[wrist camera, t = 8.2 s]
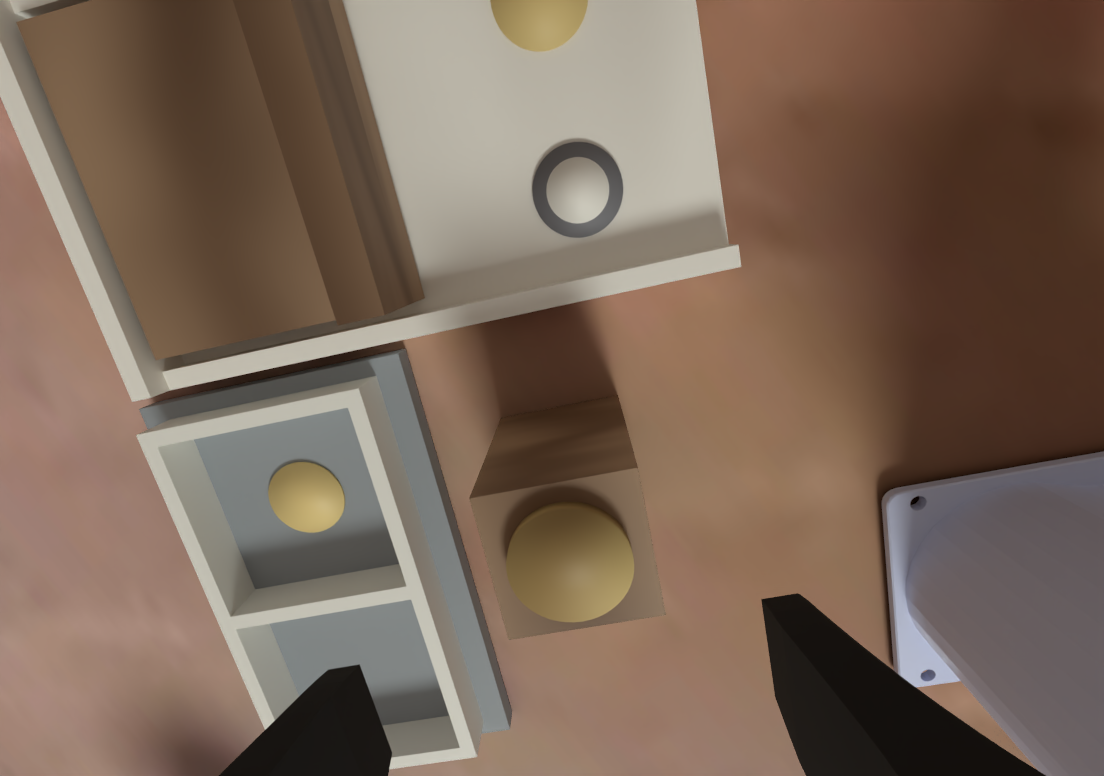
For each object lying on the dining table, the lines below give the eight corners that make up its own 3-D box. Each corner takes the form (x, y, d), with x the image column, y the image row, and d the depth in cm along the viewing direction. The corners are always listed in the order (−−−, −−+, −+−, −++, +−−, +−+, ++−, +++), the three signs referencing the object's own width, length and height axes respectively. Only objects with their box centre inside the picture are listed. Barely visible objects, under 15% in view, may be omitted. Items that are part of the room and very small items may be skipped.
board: (665, -162, 14) (684, -245, 12) (724, 263, 17) (749, 268, 15) (46, 19, 16) (-50, -21, 14) (191, 379, 19) (132, 401, 16)
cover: (331, -41, 15) (251, -130, 11) (425, 298, 17) (384, 315, 13) (58, 38, 15) (-99, -22, 12) (183, 352, 18) (84, 382, 14)
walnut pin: (617, 395, 18) (639, 475, 12) (638, 502, 20) (668, 626, 13) (501, 418, 19) (466, 506, 13) (527, 522, 20) (506, 651, 14)
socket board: (405, 348, 18) (382, 364, 16) (512, 711, 22) (504, 765, 20) (156, 401, 19) (101, 424, 17) (300, 743, 23) (271, 797, 21)
